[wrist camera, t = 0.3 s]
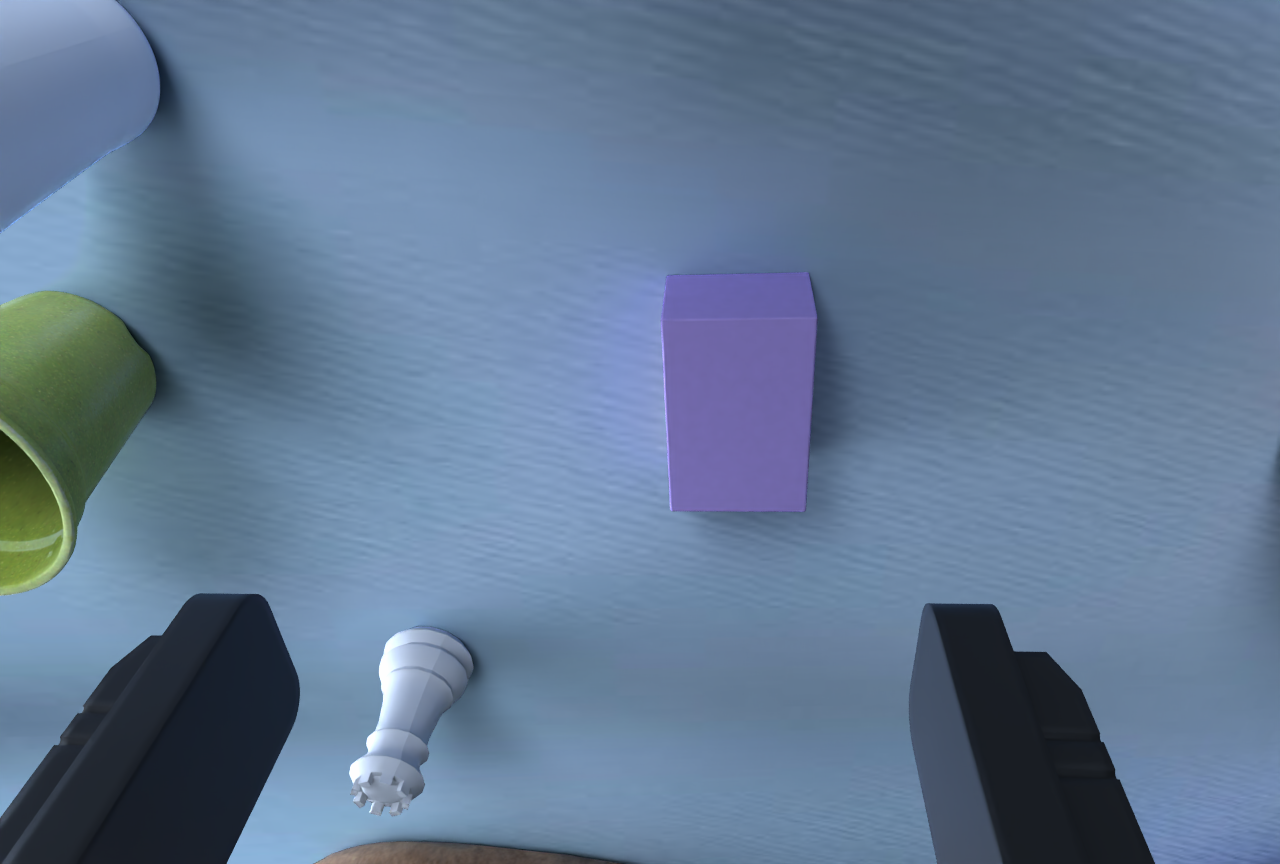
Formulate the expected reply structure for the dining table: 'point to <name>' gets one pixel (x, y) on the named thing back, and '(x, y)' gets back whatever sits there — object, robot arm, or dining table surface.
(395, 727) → the rook chess piece
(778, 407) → the lavender block
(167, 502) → the dining table surface
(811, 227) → the dining table surface
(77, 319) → the plant pot
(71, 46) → the drinking glass
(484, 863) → the bread
